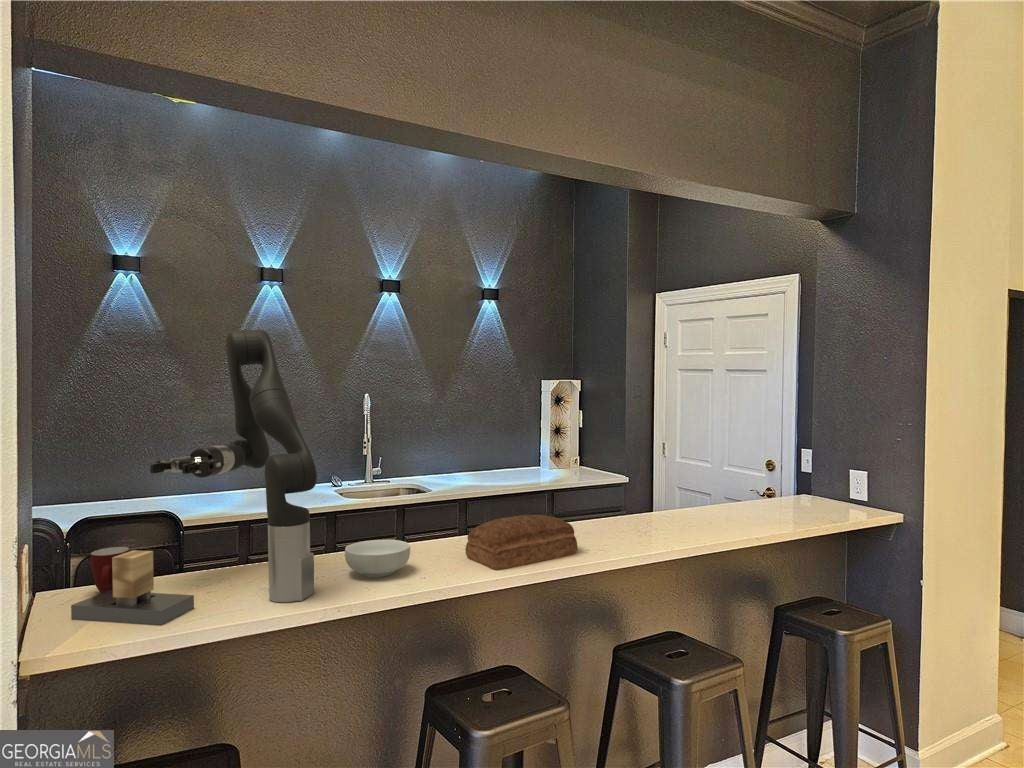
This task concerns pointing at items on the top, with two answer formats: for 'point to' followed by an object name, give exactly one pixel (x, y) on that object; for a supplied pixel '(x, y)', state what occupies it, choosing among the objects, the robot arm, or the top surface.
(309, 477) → the robot arm
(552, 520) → the bread
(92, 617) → the dark grey slab
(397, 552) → the cereal bowl
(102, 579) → the mug
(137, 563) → the tan wooden tall block
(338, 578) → the top surface
